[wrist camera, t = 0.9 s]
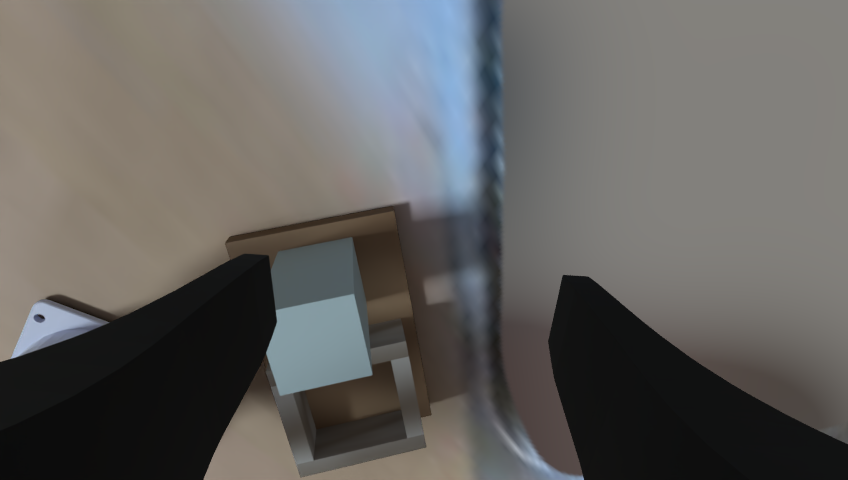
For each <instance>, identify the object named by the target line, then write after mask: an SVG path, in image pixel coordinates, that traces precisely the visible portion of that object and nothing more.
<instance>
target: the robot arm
mask: <svg viewBox="0 0 848 480" xmlns="http://www.w3.org/2000/svg"><path fill="white" fill-rule="evenodd" d="M38 314H41V315H43V316H44V317H45V319H42V318H40V317H39V315H38ZM276 324H277V316H276V308H275V300H274V292H273V284H272V276H271V269H270V261H269V255H259V254H242V255H240V256H238V257H236V258H234V259H232V260H230V261H228V262H226V263H224V264H222V265H220V266H219V267H217V268H215V269H213V270H211V271H210V272H208V273H206V274H204V275H203V276H201V277H199V278H197V279H195V280H193V281H192V282H190V283H188V284H186V285H184V286H183V287H181V288H179V289H177V290H175V291H173V292H172V293H170V294H168V295H166V296H164V297H162V298H160V299H158V300H156V301H154V302H152V303H150V304H148V305H146V306H144V307H142V308H140V309H138V310H136V311H134V312H132V313H130V314H128V315H125V316H123V317H121V318H119V319H117V320H114V321H112V322H107V321H104V320H102V319H99V318H96V317H94V316H91V315H88V314H86V313H83V312H80V311H78V310H75V309H72V308H70V307H67V306H64V305H62V304H59V303H56V302H53V301H51V300H47V299H42V300H40V301H38V302H36V303H35V304H34V305H33V307H32V309H31V312H30V314H29V316H28V319H27V321H26V324H25V326H24V328H23V331H22V333H21V336H20V338H19V340H18V343H17V345H16V348H15V350H14V352H13V355H12V357H11V359H9V360H6V361H2V362H0V480H203V479H204V476H205V474H206V471H207V469H208V467H209V464H210V462H211V459H212V457H213V454H214V452H215V450H216V448H217V446H218V444H219V442H220V440H221V438H222V436H223V434H224V432H225V430H226V428H227V426H228V425H229V423H230V421H231V419H232V417H233V415H234V413H235V412H236V410H237V408H238V406H239V404H240V402H241V400H242V399H243V397H244V395H245V393H246V391H247V389H248V387H249V386H250V384H251V382H252V380H253V378H254V376H255V374H256V372H257V371H258V369H259V367H260V365H261V363H262V361H263V359H264V357H265V355H266V352H267V349H268V347H269V344H270V341H271V339H272V336H273V333H274V330H275V327H276ZM548 342H549V349H550V356H551V363H552V369H553V374H554V379H555V383H556V386H557V389H558V393H559V396H560V399H561V403H562V406H563V410H564V413H565V416H566V419H567V422H568V426H569V429H570V432H571V436H572V439H573V442H574V445H575V448H576V452H577V455H578V458H579V462H580V465H581V469H582V473H583V477H584V480H848V444H846V443H844V442H842V441H839V440H837V439H835V438H833V437H831V436H829V435H827V434H824V433H822V432H820V431H818V430H816V429H814V428H811V427H810V426H808V425H806V424H804V423H802V422H800V421H798V420H796V419H794V418H792V417H790V416H788V415H786V414H784V413H782V412H780V411H779V410H777V409H775V408H773V407H771V406H769V405H768V404H765V403H764V402H762V401H760V400H758V399H756V398H755V397H753V396H751V395H749V394H747V393H746V392H744V391H742V390H741V389H739V388H737V387H736V386H734V385H732V384H730V383H729V382H727V381H726V380H724V379H723V378H721V377H719V376H718V375H716V374H714V373H713V372H712V371H710V370H708V369H707V368H705V367H704V366H702V365H701V364H699V363H697V362H696V361H695V360H693V359H692V358H690V357H689V356H687V355H686V354H685V353H683V352H682V351H680V350H679V349H678V348H677V347H675V346H674V345H672V344H671V343H670V342H668V341H667V340H665V339H664V338H663V337H662V336H660V335H659V334H658V333H657V332H655V331H654V330H653V329H651V328H650V327H649V326H648V325H646V324H645V323H644V322H642V321H641V320H640V319H639V318H638V317H636V316H635V315H634V314H633V313H632V312H631V311H629V310H628V309H627V308H626V307H625V306H623V305H622V304H621V303H620V302H619V301H618V300H616V299H615V298H614V297H613V296H612V295H610V294H609V293H608V292H607V291H606V290H604V289H603V288H602V287H601V286H600V285H599V284H597V283H596V282H595V281H593V280H592V279H591V278H589V277H586V276H571V275H570V276H569V275H563V277H562V281H561V286H560V290H559V295H558V300H557V304H556V309H555V313H554V318H553V322H552V327H551V331H550V336H549V340H548Z"/></svg>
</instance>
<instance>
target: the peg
mask: <svg viewBox="0 0 848 480" xmlns="http://www.w3.org/2000/svg"><path fill="white" fill-rule="evenodd" d="M271 276H272V284H273V292H274V300H275V308H276V316H277V324H276V327H275V330H274V333H273V336H272V339H271V341H270V344H269V347H268V349H267V352H266V354H267V357H268V360H269V363H270V367H271V370H272V373H273V376H274V379H275V382H276V385H277V388H278V391H279V394H280V396H282V395H286V394H291V393H295V392H300V391H304V390H309V389H313V388H317V387H322V386H326V385H331V384H335V383H340V382H344V381H349V380H353V379H358V378H362V377H367V376H371V375H373V373H372V362H371V350H370V338H369V326H368V315H367V303H366V297H365V293H364V288H363V284H362V279H361V275H360V270H359V266H358V261H357V257H356V252H355V248H354V243H353V239H352V237H350V238H344V239H339V240H334V241H329V242H324V243H319V244H314V245H309V246H303V247H298V248H293V249H288V250H283V251H278V253H277V256H276V258H275V261H274V263H273V266H272V269H271Z"/></svg>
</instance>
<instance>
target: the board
mask: <svg viewBox="0 0 848 480" xmlns="http://www.w3.org/2000/svg"><path fill="white" fill-rule="evenodd" d="M350 237H352V239H353V243H354V248H355V252H356V257H357V261H358V266H359V270H360V275H361V279H362V284H363V288H364V293H365V297H366V303H367V315H368V326H369V338H370V350H371V362H372V373H373V375H371V376H367V377H362V378H358V379H353V380H349V381H344V382H340V383H335V384H331V385H326V386H322V387H317V388H313V389H309V390H304V391H300V392H295V393H291V394H286V395H282V396H280V394H279V391H278V388H277V385H276V382H275V379H274V376H273V373H272V370H271V367H270V363H269V360H268V357H267V354H266V355H265V357H264V359H263V361H264V364H265V367H266V374H267V377H268V380H269V383H270V386H271V389H272V393H273V396H274V399H275V402H276V405H277V408H278V411H279V414H280V417H281V420H282V423H283V426H284V429H285V432H286V435H287V438H288V441H289V444H290V447H291V450H292V453H293V456H294V459H295V462H296V465H297V468H298V471H299V474H300V477H305V476H309V475H313V474H317V473H322V472H326V471H330V470H334V469H338V468H342V467H347V466H351V465H355V464H359V463H363V462H367V461H371V460H376V459H380V458H384V457H388V456H392V455H396V454H401V453H405V452H409V451H413V450H417V449H421V448H425V447H426V443H425V438H424V432H423V427H422V422H421V417H425V416H430V415H431V410H430V404H429V399H428V393H427V388H426V382H425V377H424V372H423V366H422V361H421V355H420V350H419V344H418V339H417V333H416V328H415V322H414V317H413V311H412V306H411V300H410V295H409V289H408V284H407V278H406V273H405V267H404V262H403V256H402V251H401V245H400V240H399V234H398V229H397V224H396V218H395V213H394V209H393V206H390V207H384V208H379V209H374V210H369V211H363V212H358V213H353V214H348V215H342V216H337V217H332V218H327V219H321V220H316V221H311V222H306V223H300V224H295V225H290V226H285V227H279V228H274V229H269V230H264V231H258V232H253V233H248V234H243V235H237V236H232V237H229V238H228V240H227V241H226V243H225V245H226V248H227V251H228V254H229V257H230V260H232V259H234V258H236V257H238V256H240V255H242V254H259V255H269V261H270V269H272V266H273V263H274V261H275V258H276V256H277V253H278V251H283V250H288V249H293V248H298V247H303V246H309V245H314V244H319V243H324V242H329V241H334V240H339V239H344V238H350Z"/></svg>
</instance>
